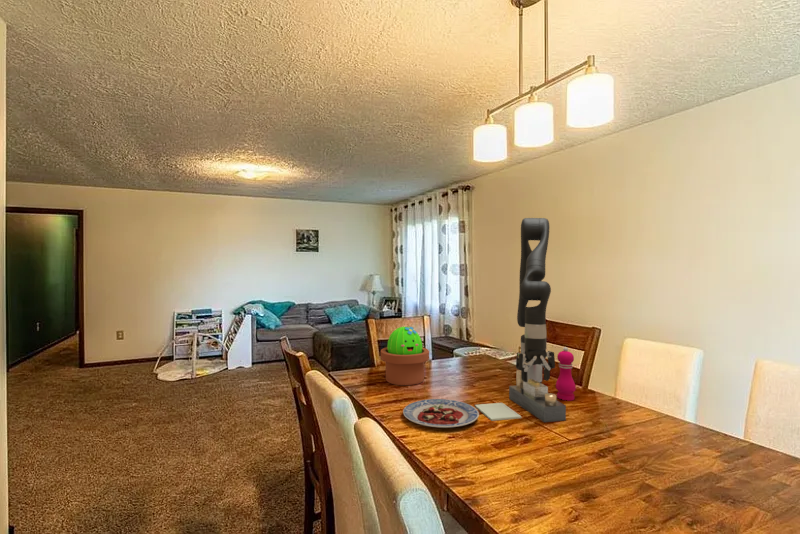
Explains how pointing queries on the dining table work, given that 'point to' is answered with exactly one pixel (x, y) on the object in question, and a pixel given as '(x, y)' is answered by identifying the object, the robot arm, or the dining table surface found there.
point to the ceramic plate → (440, 413)
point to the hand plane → (537, 403)
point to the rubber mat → (497, 411)
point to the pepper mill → (565, 376)
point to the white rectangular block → (534, 388)
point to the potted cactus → (404, 357)
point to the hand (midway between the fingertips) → (535, 381)
